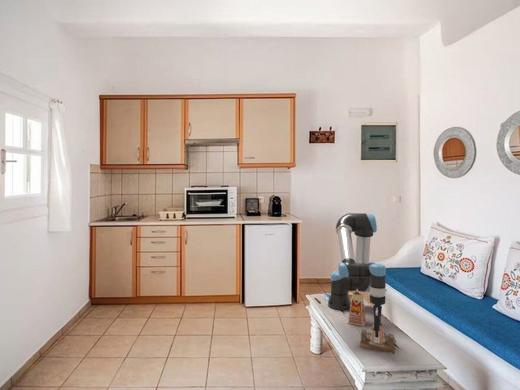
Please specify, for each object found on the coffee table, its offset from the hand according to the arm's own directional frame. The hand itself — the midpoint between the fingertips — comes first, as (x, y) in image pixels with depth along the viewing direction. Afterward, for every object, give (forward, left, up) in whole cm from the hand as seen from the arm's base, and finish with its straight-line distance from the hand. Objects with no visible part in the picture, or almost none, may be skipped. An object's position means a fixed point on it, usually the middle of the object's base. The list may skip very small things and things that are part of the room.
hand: (377, 340), depth 171 cm
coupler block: (0, 0, 0) cm, 0 cm away
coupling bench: (-2, 0, -2) cm, 3 cm away
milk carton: (-26, -13, -3) cm, 29 cm away
